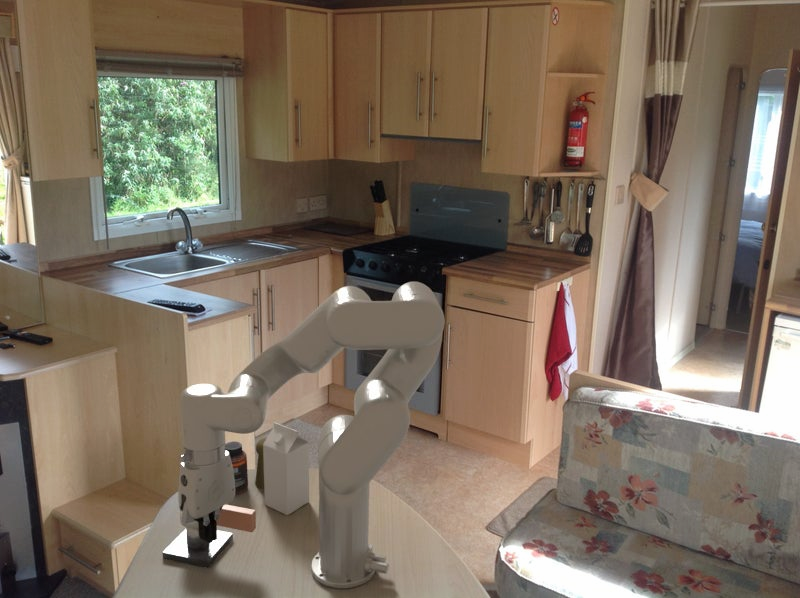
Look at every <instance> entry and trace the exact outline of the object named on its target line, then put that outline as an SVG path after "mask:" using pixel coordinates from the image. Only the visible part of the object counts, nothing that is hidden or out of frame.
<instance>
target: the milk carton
mask: <svg viewBox="0 0 800 598" xmlns="http://www.w3.org/2000/svg"><path fill="white" fill-rule="evenodd" d="M266 438H267V439H266V441H265V442H264V444H263V458H264V489H263V491H264V505H265V506H267V507H269V508H271V509H273V510H275V511H278V513H279V512H280V513H282V514H284V515H286V516H288V515H291V513H293V512H296V511H297V510H298V509H300V508H301V507H303V506H304V505H307V504H308V503H309V502H310V445H309V444H310V442H309V441H308V440H305V438H302V437H301V436H300V435H299V431H298V430H297V429H296V430H295V429H293V428H291V427H288V426H285V425H283V424H280V423H277V422H275V421H274V422H273V427H272V429H271V431H270V432H269V434H268V436H267V437H266Z"/></svg>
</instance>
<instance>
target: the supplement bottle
mask: <svg viewBox="0 0 800 598" xmlns="http://www.w3.org/2000/svg"><path fill="white" fill-rule="evenodd" d="M225 448H226V451H228V452H229V455H230V458H231V461H232V466H233V471H234V479H235V495H240V494H242V493H244V492H245V491H247V490H248V488H249V478H248V477H249V475H248V474H249V473H248V457H247V453H246V451H245V450H243V444H242V443H241V442H240V441H229V442H227V443H226V442H225Z"/></svg>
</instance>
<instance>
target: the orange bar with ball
mask: <svg viewBox="0 0 800 598" xmlns="http://www.w3.org/2000/svg"><path fill="white" fill-rule="evenodd" d="M182 513H183V511H180V510H179V519H180V522H179V523H180V524H181V525H182V526H183V527H185V528H186V527H187V528H199V527H198V522H197V521H194V522H191V523H188V524H187V523H185V522H183V521H182ZM256 515H257V514H256V509H252V508H246V507H242V506H235V505H230V504H225V505H224V506H223V507H222V509H221V511H220V516H219V519H218V520H216V521H217V527H223V528H228V529H233V530H237V531H238V530H239V531H243V532H248V533H253V532H254V531H255V530H256V528H257V521H256Z"/></svg>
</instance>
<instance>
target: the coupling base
mask: <svg viewBox="0 0 800 598" xmlns="http://www.w3.org/2000/svg"><path fill="white" fill-rule="evenodd" d="M233 540H234V534H233V533H232V532H228V531H223V530H218V529H217V539H216V540H215V541H214V540H213V541H212V542H211V543H208V542H206V541H205V540H203V539H201V538H200V537H199V528H187V527H185V529H184V530H183V531H182V532H180V533H179V535H178V536H177V537H176V538H175V539H174V540H173V541H172V542H170V544H169V545H168V546H167V547H166V548H165V549H164V550H163V551H162V559H163V560H166V559H167V561H171V560H172V562H175V563H176V562H177V563H180V562H181V563H182V564H186V565H191V566H196V567H200V568H204V569H209V568H210V567H211V566H212V565H213V564H214V562H215V561H216V560H217V559H218V558H219V557H220V555H221V554H222V553H223V552H224V551H225V549H226V548H227V547H228V546H229V545H230V543H232V541H233Z"/></svg>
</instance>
